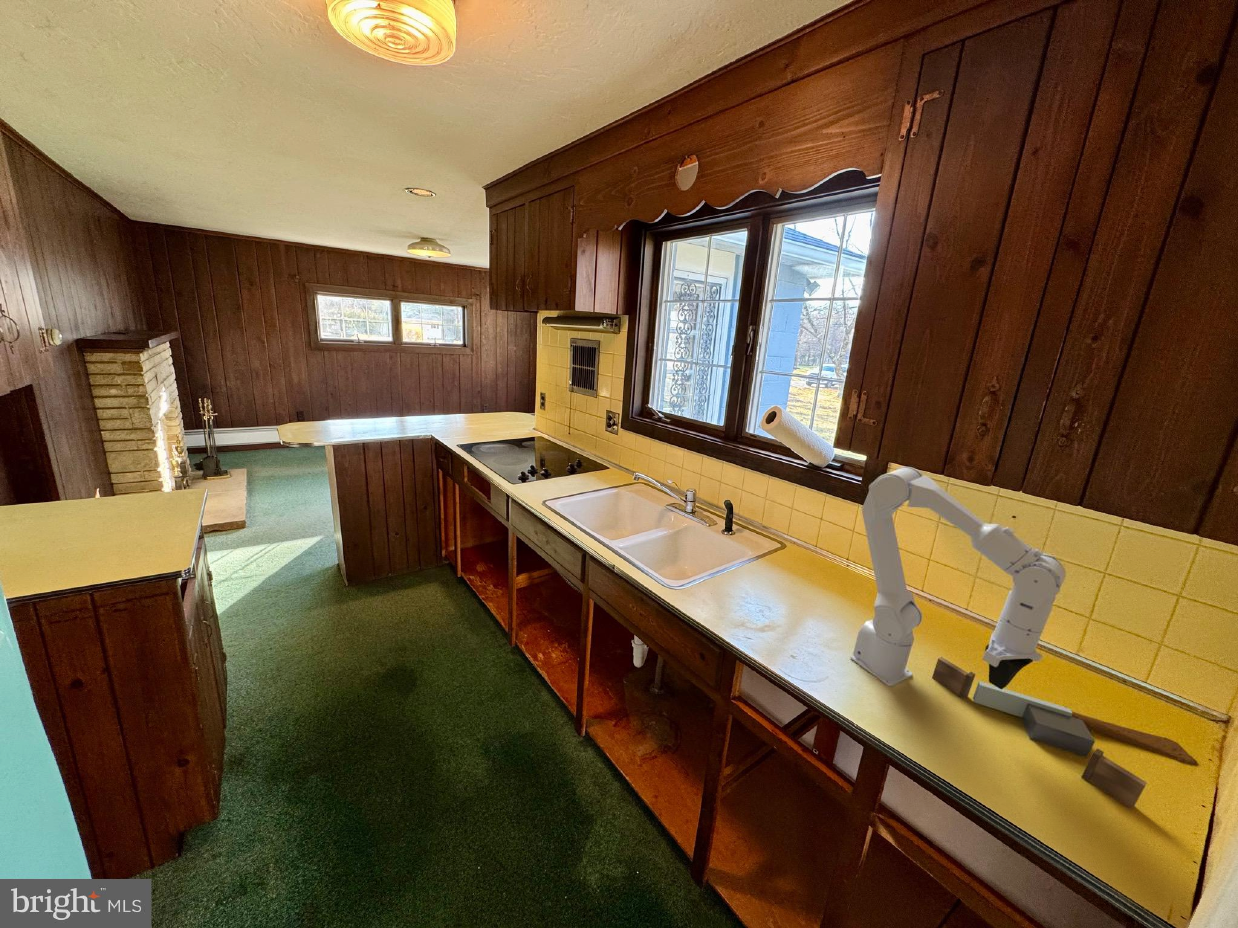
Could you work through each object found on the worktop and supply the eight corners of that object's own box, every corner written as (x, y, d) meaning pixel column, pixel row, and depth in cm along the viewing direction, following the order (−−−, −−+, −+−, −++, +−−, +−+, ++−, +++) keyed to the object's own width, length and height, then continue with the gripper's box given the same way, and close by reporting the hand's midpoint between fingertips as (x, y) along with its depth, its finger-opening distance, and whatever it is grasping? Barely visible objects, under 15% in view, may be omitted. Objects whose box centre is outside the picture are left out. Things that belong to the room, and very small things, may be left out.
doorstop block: (1029, 739, 84) (1036, 722, 83) (1020, 719, 88) (1027, 703, 87) (1086, 758, 81) (1095, 741, 80) (1074, 737, 85) (1082, 720, 84)
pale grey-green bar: (974, 701, 91) (980, 684, 90) (971, 695, 93) (977, 678, 92) (1064, 730, 86) (1072, 713, 84) (1060, 723, 87) (1068, 705, 86)
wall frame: (931, 677, 98) (938, 656, 96) (935, 675, 98) (942, 654, 97) (1130, 809, 72) (1144, 784, 71) (1135, 805, 73) (1149, 779, 71)
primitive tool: (1175, 743, 86) (1183, 728, 84) (1200, 769, 81) (1210, 754, 79) (1051, 714, 91) (1057, 700, 89) (1068, 737, 86) (1075, 723, 84)
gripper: (1029, 647, 73) (1002, 714, 77) (1069, 624, 80) (1042, 687, 84) (979, 621, 79) (957, 685, 83) (1020, 602, 86) (997, 661, 90)
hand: (996, 684), depth 84 cm, fingers closed
